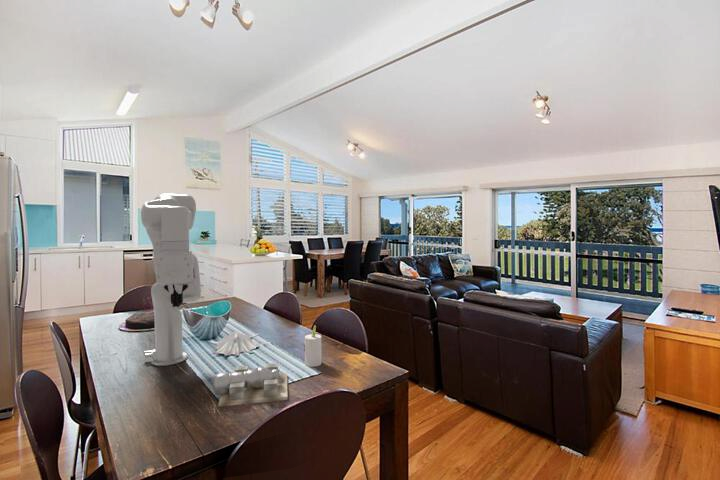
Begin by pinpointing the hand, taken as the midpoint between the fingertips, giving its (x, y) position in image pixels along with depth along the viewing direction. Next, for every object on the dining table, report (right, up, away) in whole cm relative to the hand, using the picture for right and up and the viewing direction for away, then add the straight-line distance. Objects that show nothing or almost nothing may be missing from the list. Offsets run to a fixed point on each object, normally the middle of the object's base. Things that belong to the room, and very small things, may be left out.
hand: (177, 305), depth 112 cm
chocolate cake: (-55, -25, +80) cm, 100 cm away
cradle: (+23, -28, +6) cm, 37 cm away
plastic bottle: (+11, -25, 0) cm, 27 cm away
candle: (+38, -28, +28) cm, 55 cm away
